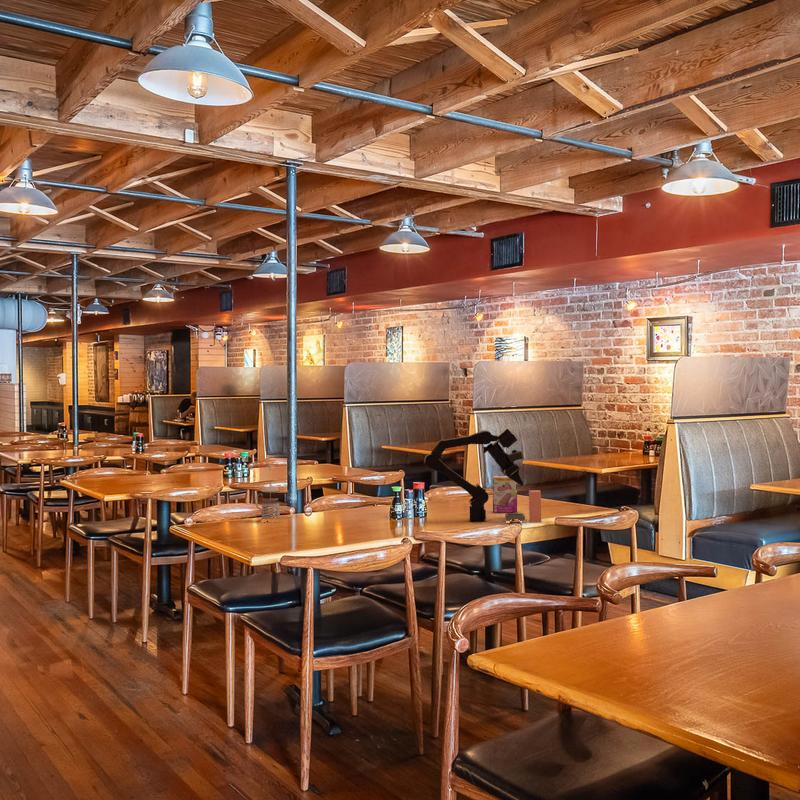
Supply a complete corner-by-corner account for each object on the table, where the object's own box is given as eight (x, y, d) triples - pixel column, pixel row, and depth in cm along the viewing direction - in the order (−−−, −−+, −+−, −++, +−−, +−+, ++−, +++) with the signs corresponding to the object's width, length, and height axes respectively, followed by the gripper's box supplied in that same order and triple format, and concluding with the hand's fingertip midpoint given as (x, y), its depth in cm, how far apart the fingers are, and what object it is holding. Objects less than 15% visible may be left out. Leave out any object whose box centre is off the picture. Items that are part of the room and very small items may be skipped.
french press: (280, 522, 364) (279, 465, 364) (253, 523, 364) (252, 465, 364) (283, 519, 374) (282, 463, 373) (257, 519, 374) (256, 464, 373)
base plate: (506, 523, 350) (505, 516, 350) (504, 520, 358) (504, 513, 358) (526, 523, 349) (526, 516, 349) (524, 520, 358) (524, 513, 358)
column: (530, 522, 351) (530, 491, 351) (529, 520, 356) (528, 490, 356) (541, 522, 351) (540, 491, 351) (540, 520, 356) (539, 490, 356)
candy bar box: (492, 513, 380) (492, 477, 379) (492, 511, 384) (492, 476, 384) (517, 513, 378) (517, 477, 378) (517, 511, 383) (516, 475, 383)
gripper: (517, 445, 349) (539, 474, 349) (510, 442, 367) (532, 470, 368) (495, 461, 349) (518, 490, 349) (490, 457, 367) (512, 485, 367)
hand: (520, 483), depth 358 cm, fingers open, 9 cm apart
